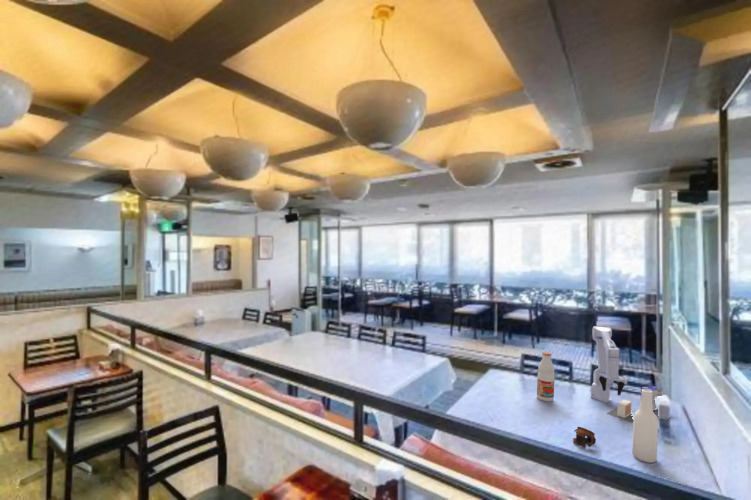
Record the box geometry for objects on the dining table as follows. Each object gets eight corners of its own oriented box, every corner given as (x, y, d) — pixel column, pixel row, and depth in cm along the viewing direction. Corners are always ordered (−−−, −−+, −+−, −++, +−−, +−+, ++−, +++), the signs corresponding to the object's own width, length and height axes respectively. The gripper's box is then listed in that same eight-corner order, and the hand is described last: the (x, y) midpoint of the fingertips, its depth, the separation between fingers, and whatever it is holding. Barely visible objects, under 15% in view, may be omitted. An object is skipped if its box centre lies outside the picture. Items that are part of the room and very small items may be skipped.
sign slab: (617, 415, 209) (617, 402, 208) (624, 411, 214) (624, 399, 214) (624, 418, 206) (624, 405, 206) (631, 414, 211) (631, 401, 211)
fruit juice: (544, 394, 236) (546, 350, 236) (557, 400, 228) (559, 354, 227) (533, 396, 233) (535, 351, 232) (545, 402, 224) (547, 355, 224)
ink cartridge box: (653, 406, 224) (654, 382, 224) (662, 410, 218) (663, 385, 218) (639, 407, 222) (640, 382, 222) (648, 411, 216) (649, 386, 216)
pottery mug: (567, 440, 181) (571, 423, 184) (583, 449, 182) (587, 431, 184) (585, 447, 170) (590, 428, 172) (603, 456, 170) (607, 437, 173)
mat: (605, 414, 211) (605, 413, 211) (618, 407, 220) (618, 406, 220) (635, 424, 199) (635, 423, 199) (647, 417, 209) (647, 416, 209)
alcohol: (657, 466, 161) (660, 396, 161) (632, 459, 166) (635, 391, 165) (655, 456, 168) (658, 389, 168) (631, 450, 173) (634, 385, 173)
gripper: (595, 366, 218) (594, 390, 219) (624, 374, 207) (623, 398, 207) (601, 364, 223) (600, 387, 223) (629, 371, 211) (628, 395, 211)
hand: (611, 392), depth 215 cm, fingers open, 7 cm apart
